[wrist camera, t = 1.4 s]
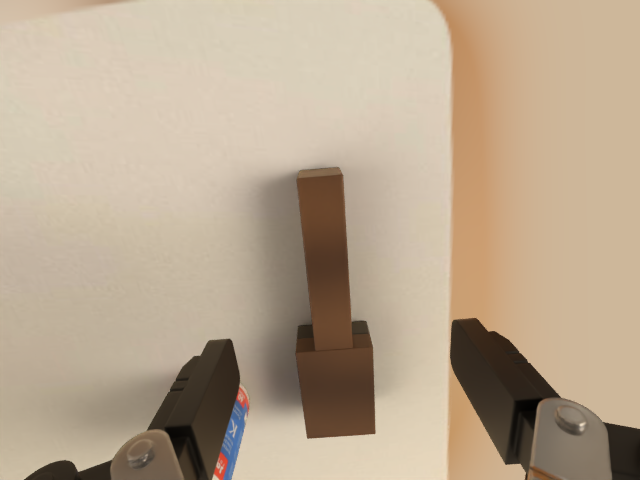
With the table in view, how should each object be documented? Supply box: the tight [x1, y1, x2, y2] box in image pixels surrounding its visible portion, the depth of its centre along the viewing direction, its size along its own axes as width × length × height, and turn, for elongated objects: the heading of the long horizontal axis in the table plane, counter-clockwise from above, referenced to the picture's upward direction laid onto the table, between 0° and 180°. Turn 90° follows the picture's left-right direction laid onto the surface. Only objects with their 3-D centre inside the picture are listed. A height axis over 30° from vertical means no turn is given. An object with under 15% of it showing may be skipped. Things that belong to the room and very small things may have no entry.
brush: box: [296, 167, 375, 439], centre depth 19 cm, size 17×4×3 cm, turn 5°
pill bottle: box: [212, 383, 250, 480], centre depth 18 cm, size 6×5×10 cm
